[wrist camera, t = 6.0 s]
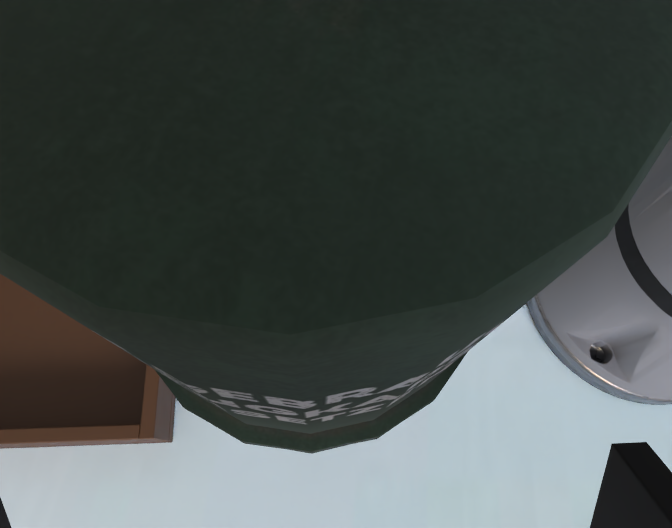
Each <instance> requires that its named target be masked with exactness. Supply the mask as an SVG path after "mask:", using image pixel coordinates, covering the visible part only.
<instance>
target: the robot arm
mask: <svg viewBox="0 0 672 528" xmlns="http://www.w3.org/2000/svg"><path fill="white" fill-rule="evenodd" d="M527 305H528V308H529V311H530V314H531V316H532V319H533V321H534V323H535V325H536V327H537V329H538V331H539V333H540V334H541V336H542V338H543V339H544V341H545V342H546V344H547V345H548V346H549V348H550V349H551V350H552V351H553V353H554V354H555V355H556V356H557V357H558V358H559V359H560V360H561V361H562V362H563V363H564V364H565V365H566V366H567V367H568V368H569V369H570V370H571V371H573V372H574V373H575V374H576V375H578V376H579V377H580V378H582V379H583V380H585V381H586V382H588V383H589V384H591V385H592V386H594V387H596V388H598V389H600V390H602V391H604V392H606V393H608V394H611V395H613V396H616V397H618V398H622V399H625V400H628V401H632V402H637V403H643V404H652V405H666V404H672V136H671V138H670V140H669V141H668V143H667V144H666V146H665V147H664V149H663V151H662V152H661V154H660V155H659V157H658V158H657V160H656V161H655V163H654V165H653V166H652V168H651V169H650V171H649V172H648V174H647V175H646V177H645V179H644V180H643V182H642V183H641V185H640V186H639V188H638V189H637V191H636V193H635V194H634V196H633V197H632V199H631V200H630V202H629V204H628V205H627V207H626V208H625V210H624V211H623V213H622V214H621V216H620V218H619V219H618V221H617V222H616V224H615V225H614V227H613V228H612V230H611V232H610V233H609V235H608V236H607V237H606V238H605V239H604V240H603V241H601V242H600V243H599V244H598V245H597V246H595V247H594V248H593V249H592V250H590V251H589V252H588V253H587V254H586V255H584V256H583V257H582V258H581V259H579V260H578V261H577V262H576V263H575V264H573V265H572V266H571V267H570V268H569V269H567V270H566V271H565V272H564V273H562V274H561V275H560V276H559V277H558V278H556V279H555V280H554V281H553V282H551V283H550V284H549V285H548V286H547V287H545V288H544V289H543V290H542V291H540V292H539V293H538V294H537V295H536V296H534V297H533V298H532V299H531V300H529V301H528V302H527ZM0 528H11V526H10V523H9V520H8V517H7V515H6V512H5V509H4V506H3V504H2V501H1V498H0ZM590 528H672V472H671V471H670V470H669V469H668V467H667V466H666V465H665V464H664V463H663V461H662V460H661V459H660V458H659V457H658V456H657V454H656V453H655V452H654V451H653V450H652V448H651V447H650V446H649V445H648V444H647V442H641V443H618V444H612V446H611V449H610V453H609V457H608V461H607V465H606V468H605V472H604V476H603V480H602V484H601V488H600V491H599V495H598V499H597V503H596V507H595V510H594V514H593V518H592V522H591V526H590Z"/></svg>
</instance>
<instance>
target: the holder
mask: <svg viewBox="0 0 672 528" xmlns="http://www.w3.org/2000/svg"><path fill="white" fill-rule="evenodd" d="M174 411H175V396H174V395H173V393H172V392H171V391H170V389H169V388H168V387H167V385H166V384H165V383H164V382H163V380H162V379H161V378H160V376H159V375H158V374H157V372H156V371H155V370H154V369H153V368H151V367H150V366H148V365H147V364H145V363H143V362H142V361H140V360H138V359H137V358H135V357H134V356H132V355H130V354H129V353H127V352H126V351H124V350H122V349H121V348H119V347H118V346H116V345H114V344H113V343H111V342H109V341H108V340H106V339H105V338H103V337H101V336H100V335H98V334H97V333H95V332H93V331H92V330H90V329H89V328H87V327H85V326H84V325H82V324H80V323H79V322H77V321H76V320H74V319H72V318H71V317H69V316H68V315H66V314H64V313H63V312H61V311H60V310H58V309H56V308H55V307H53V306H51V305H50V304H48V303H47V302H45V301H43V300H42V299H40V298H39V297H37V296H35V295H34V294H32V293H31V292H29V291H27V290H26V289H24V288H22V287H21V286H19V285H18V284H16V283H14V282H13V281H11V280H10V279H8V278H6V277H5V276H3V275H2V274H0V448H26V447H54V446H82V445H109V444H137V443H165V442H172V437H173V424H174Z"/></svg>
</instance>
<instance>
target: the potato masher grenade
mask: <svg viewBox="0 0 672 528" xmlns="http://www.w3.org/2000/svg"><path fill="white" fill-rule="evenodd" d="M671 136H672V0H0V274H2V275H3V276H5V277H6V278H8V279H10V280H11V281H13V282H14V283H16V284H18V285H19V286H21V287H22V288H24V289H26V290H27V291H29V292H31V293H32V294H34V295H35V296H37V297H39V298H40V299H42V300H43V301H45V302H47V303H48V304H50V305H51V306H53V307H55V308H56V309H58V310H60V311H61V312H63V313H64V314H66V315H68V316H69V317H71V318H72V319H74V320H76V321H77V322H79V323H80V324H82V325H84V326H85V327H87V328H89V329H90V330H92V331H93V332H95V333H97V334H98V335H100V336H101V337H103V338H105V339H106V340H108V341H109V342H111V343H113V344H114V345H116V346H118V347H119V348H121V349H122V350H124V351H126V352H127V353H129V354H130V355H132V356H134V357H135V358H137V359H138V360H140V361H142V362H143V363H145V364H147V365H148V366H150V367H151V368H153V369H154V370H155V371H156V372H157V374H158V375H159V376H160V378H161V379H162V380H163V382H164V383H165V384H166V385H167V387H168V388H169V389H170V391H171V392H172V393H173V395H174V396H175V397H176V398H177V400H178V401H179V402H180V404H181V405H182V406H183V407H184V408H185V409H187V410H188V411H190V412H192V413H194V414H195V415H197V416H199V417H201V418H202V419H204V420H206V421H208V422H209V423H211V424H213V425H214V426H216V427H218V428H219V429H221V430H223V431H225V432H226V433H228V434H230V435H231V436H233V437H235V438H236V439H238V440H240V441H241V442H243V443H246V444H253V445H260V446H268V447H275V448H282V449H289V450H295V451H300V452H306V453H315V452H320V451H324V450H328V449H332V448H336V447H340V446H345V445H349V444H353V443H358V442H363V441H368V440H373V439H377V438H379V437H380V436H382V435H383V434H385V433H386V432H388V431H389V430H390V429H392V428H393V427H395V426H396V425H398V424H399V423H401V422H402V421H404V420H405V419H407V418H408V417H410V416H411V415H413V414H414V413H416V412H417V411H419V410H420V409H422V408H424V407H425V406H427V405H428V404H430V403H431V402H432V401H433V400H434V399H435V398H436V397H437V395H438V394H439V392H440V391H441V390H442V388H443V387H444V385H445V384H446V382H447V381H448V379H449V378H450V377H451V375H452V374H453V372H454V371H455V369H456V368H457V366H458V365H459V364H460V362H461V361H462V359H463V358H464V356H465V355H466V353H467V352H468V351H469V350H470V349H471V348H472V347H473V346H475V345H476V344H477V343H478V342H479V341H481V340H482V339H483V338H484V337H486V336H487V335H488V334H489V333H490V332H492V331H493V330H494V329H495V328H497V327H498V326H499V325H500V324H501V323H503V322H504V321H505V320H506V319H507V318H509V317H510V316H511V315H512V314H514V313H515V312H516V311H517V310H518V309H520V308H521V307H522V306H523V305H525V304H526V303H527V302H528V301H529V300H531V299H532V298H533V297H534V296H536V295H537V294H538V293H539V292H540V291H542V290H543V289H544V288H545V287H547V286H548V285H549V284H550V283H551V282H553V281H554V280H555V279H556V278H558V277H559V276H560V275H561V274H562V273H564V272H565V271H566V270H567V269H569V268H570V267H571V266H572V265H573V264H575V263H576V262H577V261H578V260H579V259H581V258H582V257H583V256H584V255H586V254H587V253H588V252H589V251H590V250H592V249H593V248H594V247H595V246H597V245H598V244H599V243H600V242H601V241H603V240H604V239H605V238H606V237H607V236H608V235H609V233H610V232H611V230H612V228H613V227H614V225H615V224H616V222H617V221H618V219H619V218H620V216H621V214H622V213H623V211H624V210H625V208H626V207H627V205H628V204H629V202H630V200H631V199H632V197H633V196H634V194H635V193H636V191H637V189H638V188H639V186H640V185H641V183H642V182H643V180H644V179H645V177H646V175H647V174H648V172H649V171H650V169H651V168H652V166H653V165H654V163H655V161H656V160H657V158H658V157H659V155H660V154H661V152H662V151H663V149H664V147H665V146H666V144H667V143H668V141H669V140H670V138H671Z"/></svg>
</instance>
